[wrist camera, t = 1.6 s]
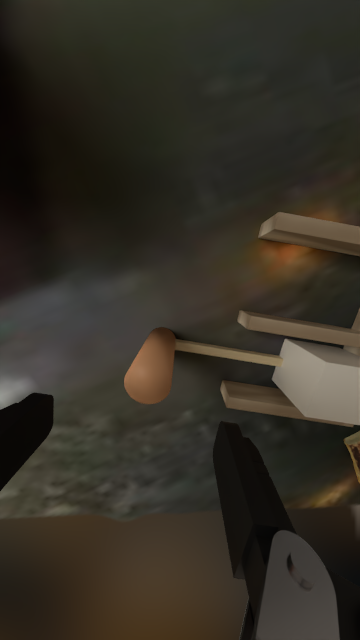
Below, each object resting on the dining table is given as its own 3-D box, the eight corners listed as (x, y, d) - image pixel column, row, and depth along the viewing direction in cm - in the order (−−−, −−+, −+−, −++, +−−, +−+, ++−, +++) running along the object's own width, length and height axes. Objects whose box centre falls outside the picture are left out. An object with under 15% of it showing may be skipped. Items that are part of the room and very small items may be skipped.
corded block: (151, 316, 18) (128, 343, 10) (338, 347, 19) (449, 395, 11) (145, 359, 19) (120, 413, 12) (322, 387, 20) (412, 457, 12)
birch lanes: (261, 224, 16) (278, 211, 13) (395, 248, 16) (441, 241, 14) (220, 388, 20) (226, 407, 17) (328, 405, 20) (352, 426, 18)
